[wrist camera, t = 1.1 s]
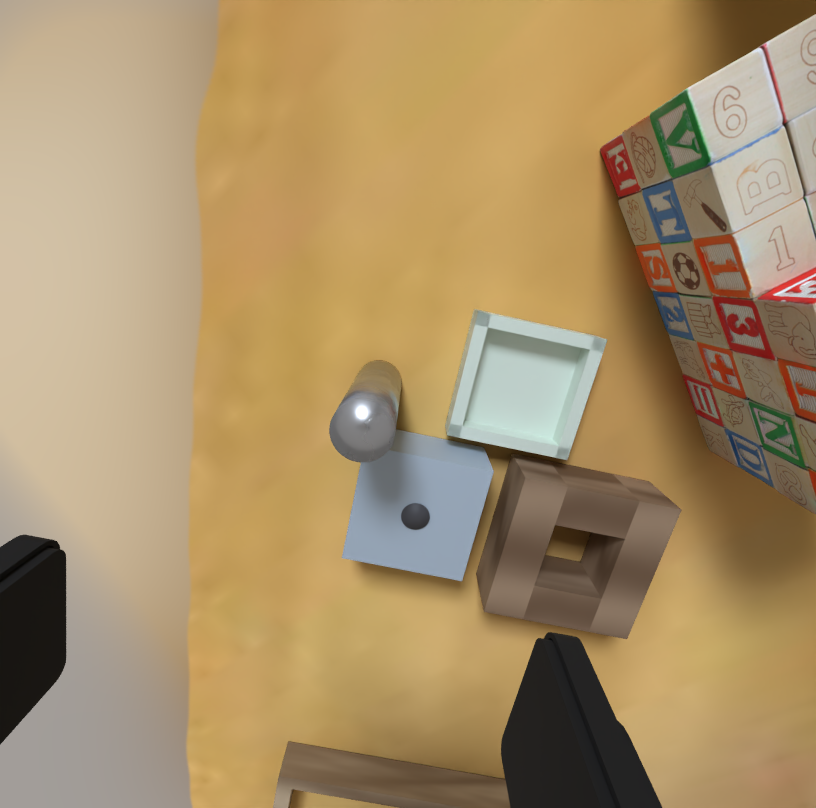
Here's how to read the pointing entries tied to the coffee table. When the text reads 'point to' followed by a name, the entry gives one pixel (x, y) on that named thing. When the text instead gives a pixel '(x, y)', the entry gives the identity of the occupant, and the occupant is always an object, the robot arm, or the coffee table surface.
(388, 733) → the coffee table surface
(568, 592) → the square-holed wooden block
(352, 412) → the cylinder
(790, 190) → the stack of blocks
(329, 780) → the rectangular wooden corral frame
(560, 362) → the tray
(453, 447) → the block
